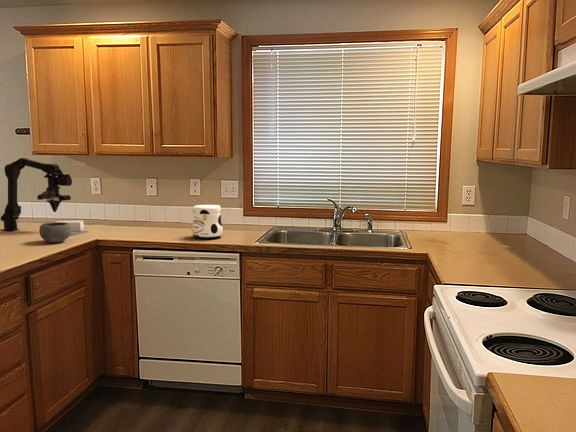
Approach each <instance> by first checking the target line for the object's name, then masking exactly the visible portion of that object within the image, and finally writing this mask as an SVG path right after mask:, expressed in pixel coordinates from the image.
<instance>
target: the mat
mask: <svg viewBox="0 0 576 432" xmlns="http://www.w3.org/2000/svg"><path fill="white" fill-rule="evenodd" d="M85 233H89V230H82V231H79V232H70V235H69V236H77V235H81V234H85Z"/></svg>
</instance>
